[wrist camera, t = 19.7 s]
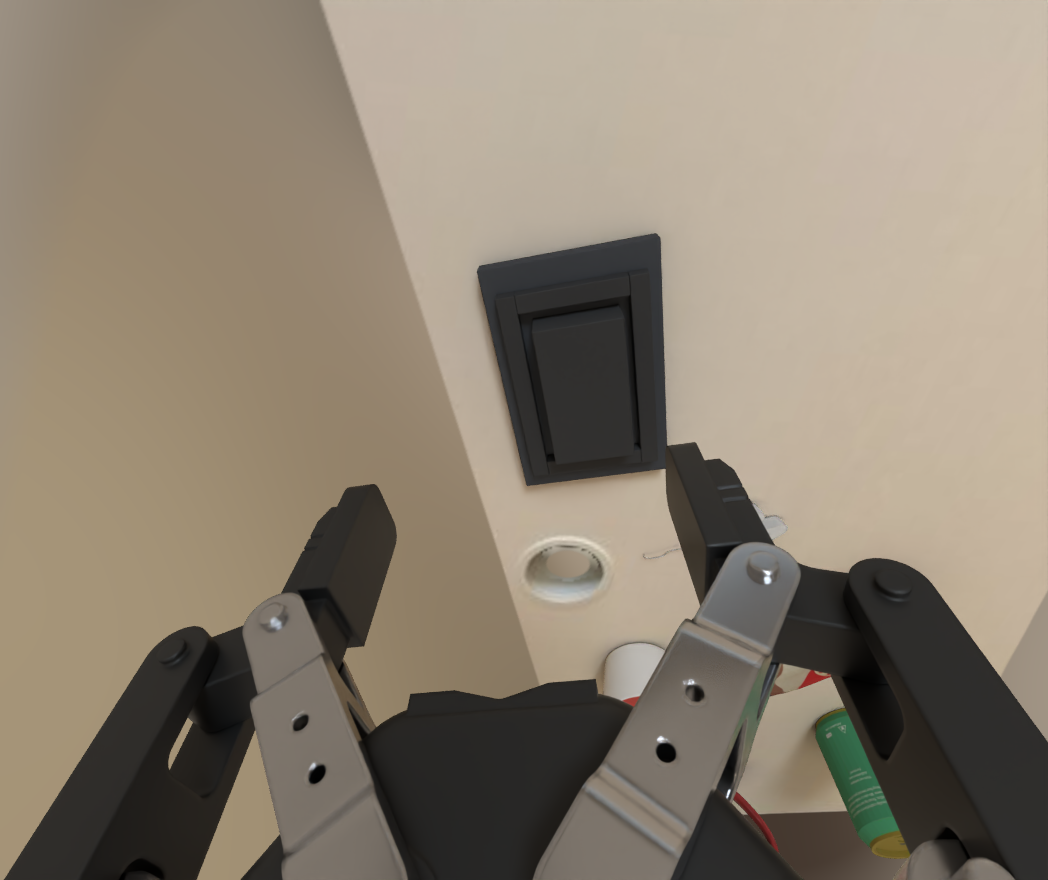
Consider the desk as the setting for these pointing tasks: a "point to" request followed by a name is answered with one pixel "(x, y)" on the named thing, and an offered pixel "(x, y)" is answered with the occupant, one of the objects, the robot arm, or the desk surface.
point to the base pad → (567, 287)
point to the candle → (630, 670)
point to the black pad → (585, 383)
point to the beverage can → (859, 785)
